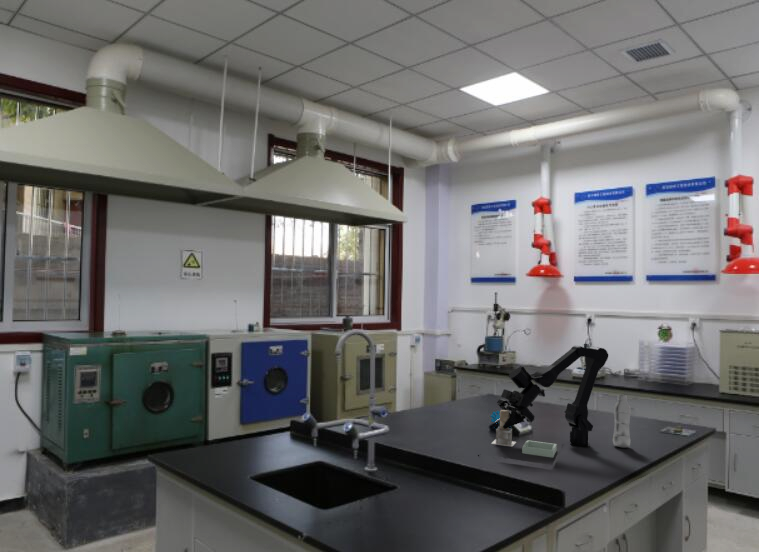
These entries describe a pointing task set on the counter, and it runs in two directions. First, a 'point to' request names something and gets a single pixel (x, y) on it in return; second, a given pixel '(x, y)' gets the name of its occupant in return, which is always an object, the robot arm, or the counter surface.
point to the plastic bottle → (622, 422)
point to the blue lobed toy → (495, 416)
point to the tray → (539, 448)
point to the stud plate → (503, 444)
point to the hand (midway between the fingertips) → (501, 426)
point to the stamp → (503, 430)
